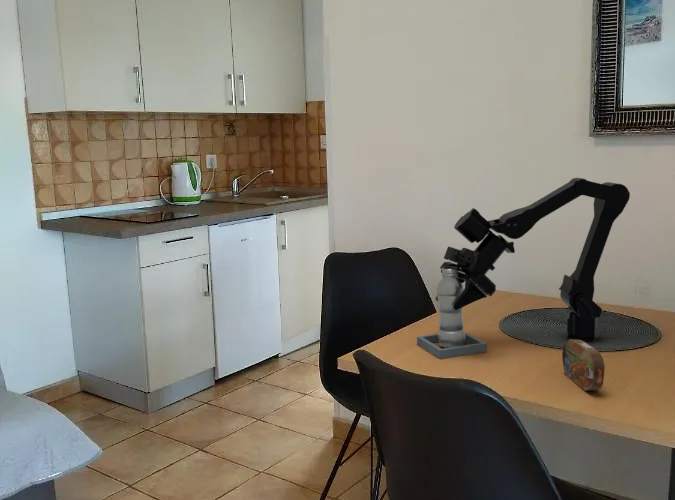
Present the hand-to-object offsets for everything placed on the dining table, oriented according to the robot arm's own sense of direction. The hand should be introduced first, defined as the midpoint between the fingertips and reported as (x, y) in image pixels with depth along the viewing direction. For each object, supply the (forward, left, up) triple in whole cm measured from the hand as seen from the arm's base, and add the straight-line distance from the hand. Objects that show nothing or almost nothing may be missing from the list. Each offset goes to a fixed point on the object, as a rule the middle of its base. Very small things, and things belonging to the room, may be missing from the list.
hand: (445, 304), depth 163 cm
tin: (-35, +7, -11) cm, 37 cm away
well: (-1, -1, -11) cm, 11 cm away
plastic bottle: (-1, -1, -11) cm, 11 cm away
